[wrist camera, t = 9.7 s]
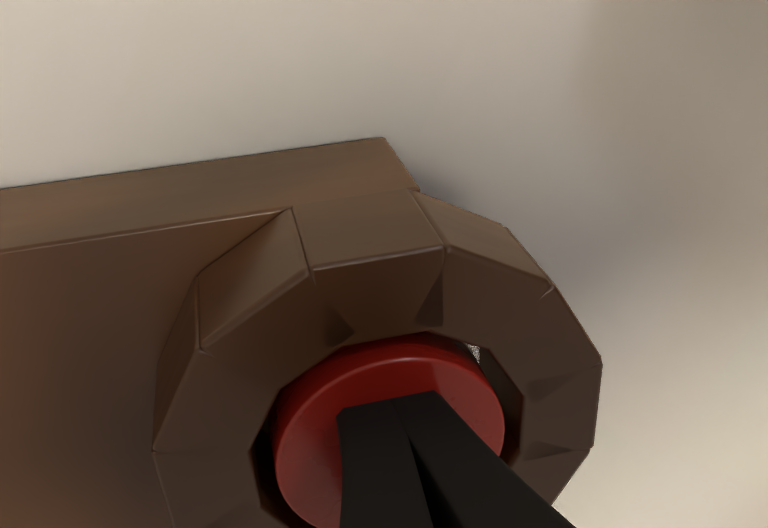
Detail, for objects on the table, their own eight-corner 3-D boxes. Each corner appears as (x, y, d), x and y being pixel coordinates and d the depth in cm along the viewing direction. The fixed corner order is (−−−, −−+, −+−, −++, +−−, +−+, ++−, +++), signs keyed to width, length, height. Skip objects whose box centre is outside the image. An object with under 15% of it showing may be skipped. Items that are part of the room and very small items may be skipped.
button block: (503, 116, 12) (622, 216, 9) (494, 464, 16) (574, 623, 13) (-149, 205, 11) (-308, 368, 7) (20, 568, 15) (-31, 784, 11)
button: (465, 271, 11) (509, 337, 9) (465, 433, 12) (503, 511, 11) (249, 309, 10) (258, 386, 9) (278, 473, 12) (291, 561, 10)
